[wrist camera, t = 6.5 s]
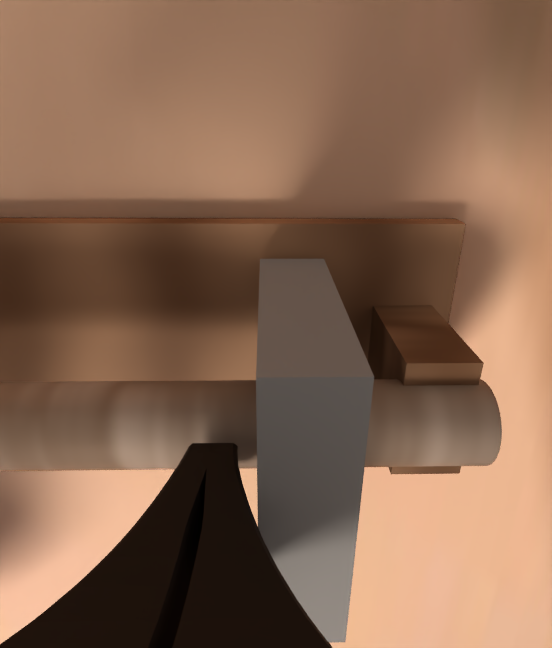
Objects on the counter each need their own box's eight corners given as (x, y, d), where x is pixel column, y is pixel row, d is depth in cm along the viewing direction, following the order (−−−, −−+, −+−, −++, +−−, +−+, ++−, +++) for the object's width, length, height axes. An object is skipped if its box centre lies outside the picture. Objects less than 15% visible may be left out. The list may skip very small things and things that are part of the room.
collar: (261, 443, 21) (259, 643, 13) (259, 258, 17) (256, 377, 9) (314, 443, 21) (345, 642, 13) (323, 258, 17) (374, 377, 9)
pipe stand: (-75, 446, 22) (-224, 591, 15) (-163, 217, 18) (-430, 279, 11) (418, 442, 23) (483, 579, 16) (455, 218, 18) (569, 278, 11)
